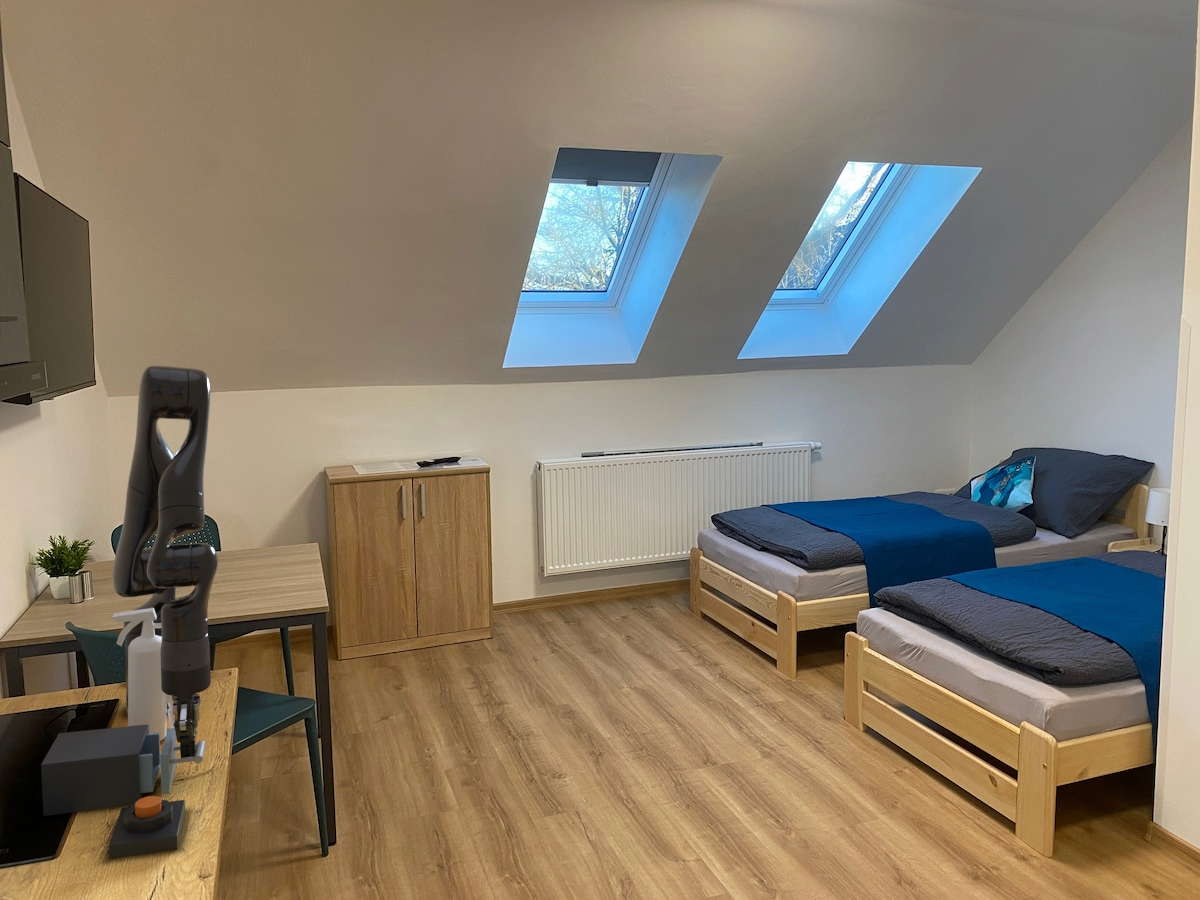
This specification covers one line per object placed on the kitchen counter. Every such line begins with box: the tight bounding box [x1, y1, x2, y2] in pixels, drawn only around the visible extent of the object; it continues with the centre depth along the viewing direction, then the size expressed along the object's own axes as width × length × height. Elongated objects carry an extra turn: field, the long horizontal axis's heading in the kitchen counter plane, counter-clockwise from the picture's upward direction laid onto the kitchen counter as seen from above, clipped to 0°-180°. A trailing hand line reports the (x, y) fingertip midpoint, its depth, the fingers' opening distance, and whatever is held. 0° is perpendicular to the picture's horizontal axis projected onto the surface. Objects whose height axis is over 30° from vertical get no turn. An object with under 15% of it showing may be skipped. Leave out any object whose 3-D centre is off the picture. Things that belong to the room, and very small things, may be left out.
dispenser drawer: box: [139, 727, 207, 795], centre depth 150 cm, size 17×10×7 cm, turn 109°
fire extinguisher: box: [111, 608, 175, 742], centre depth 167 cm, size 7×12×25 cm, turn 111°
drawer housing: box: [40, 724, 149, 817], centre depth 147 cm, size 14×12×9 cm
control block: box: [108, 799, 186, 860], centre depth 136 cm, size 11×9×4 cm
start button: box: [135, 795, 162, 818], centre depth 135 cm, size 4×4×2 cm
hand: (188, 759), depth 152 cm, fingers closed
